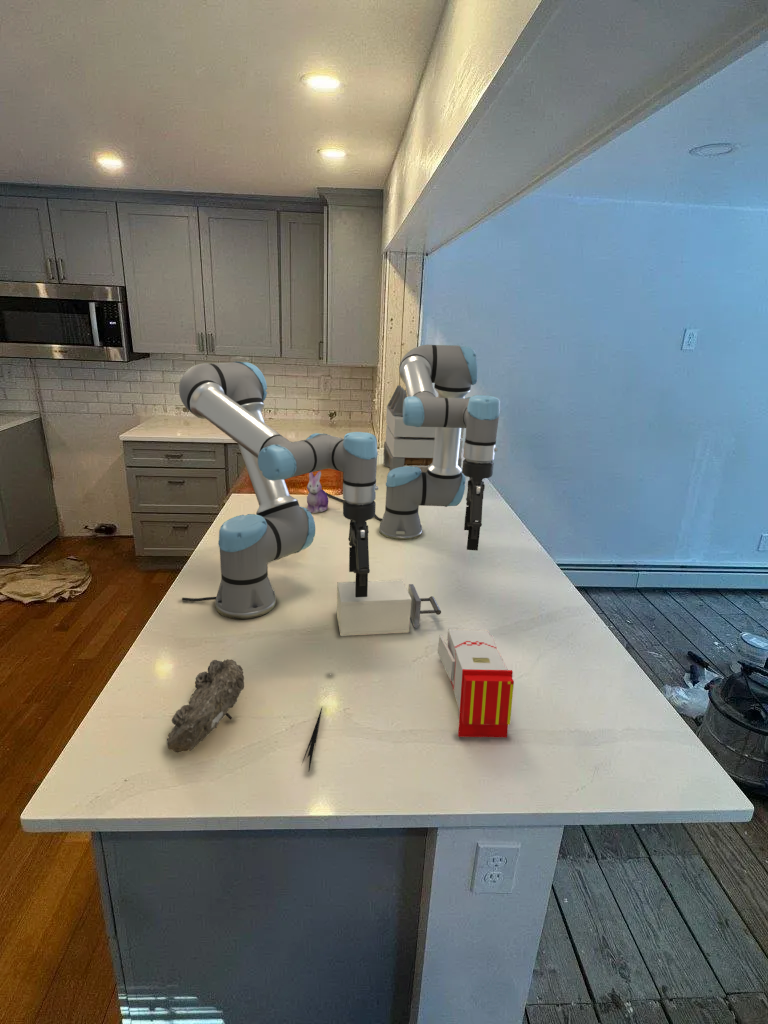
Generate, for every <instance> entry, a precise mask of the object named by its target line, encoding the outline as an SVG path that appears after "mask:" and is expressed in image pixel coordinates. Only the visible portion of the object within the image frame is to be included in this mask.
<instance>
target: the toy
mask: <svg viewBox="0 0 768 1024" xmlns="http://www.w3.org/2000/svg"><path fill="white" fill-rule="evenodd" d="M446 640H447V643H446V641H445V639H444V636H443V635H442V634H439V637H438V646H437V656H438V657H439V659H440V661H441V663H442V666H443V668H444V670H445V672H446V674H447V677H448V679H449V681H450V684H451V687H452V690H453V693H454V697H455V701H456V705H457V708H458V711H459V714H458V715H459V716H458V730H457V731H458V732H457V737H458V738H508V731H509V726H510V725H511V717H512V707H513V697H514V696H513V695H514V684H515V680H514V679H513V673H514V671H513V670H512V669H508V667H507V665H506V662H505V661H504V659H503V658H502V655H501V653H500V651H499V649H498V647H497V643H496V639H495V637H494V635H493V634H491V632H490V631H489V629H467V628H466V629H465V628H463V629H461V628H460V629H459V628H448V630H447V639H446Z"/></svg>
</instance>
